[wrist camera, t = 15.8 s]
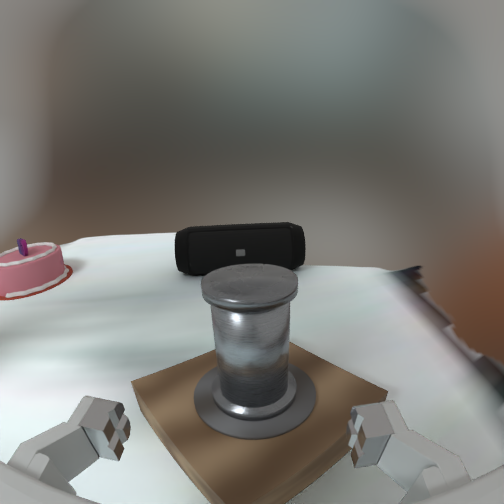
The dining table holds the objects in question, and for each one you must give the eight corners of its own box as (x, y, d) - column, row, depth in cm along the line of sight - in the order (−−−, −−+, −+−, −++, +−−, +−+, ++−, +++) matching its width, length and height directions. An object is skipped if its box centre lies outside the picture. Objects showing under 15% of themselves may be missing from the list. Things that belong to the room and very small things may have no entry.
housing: (197, 388, 24) (180, 278, 21) (259, 358, 28) (255, 257, 25) (247, 435, 19) (238, 312, 16) (313, 392, 23) (322, 278, 20)
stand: (141, 411, 26) (129, 378, 25) (265, 356, 35) (264, 324, 34) (239, 532, 14) (234, 510, 13) (378, 421, 23) (388, 387, 22)
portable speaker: (177, 283, 60) (171, 233, 57) (184, 266, 69) (180, 223, 66) (306, 276, 61) (306, 227, 58) (296, 261, 70) (296, 218, 68)
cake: (89, 276, 65) (81, 231, 62) (-3, 311, 44) (-17, 261, 41) (52, 260, 78) (46, 225, 75) (-18, 285, 57) (-27, 247, 54)
